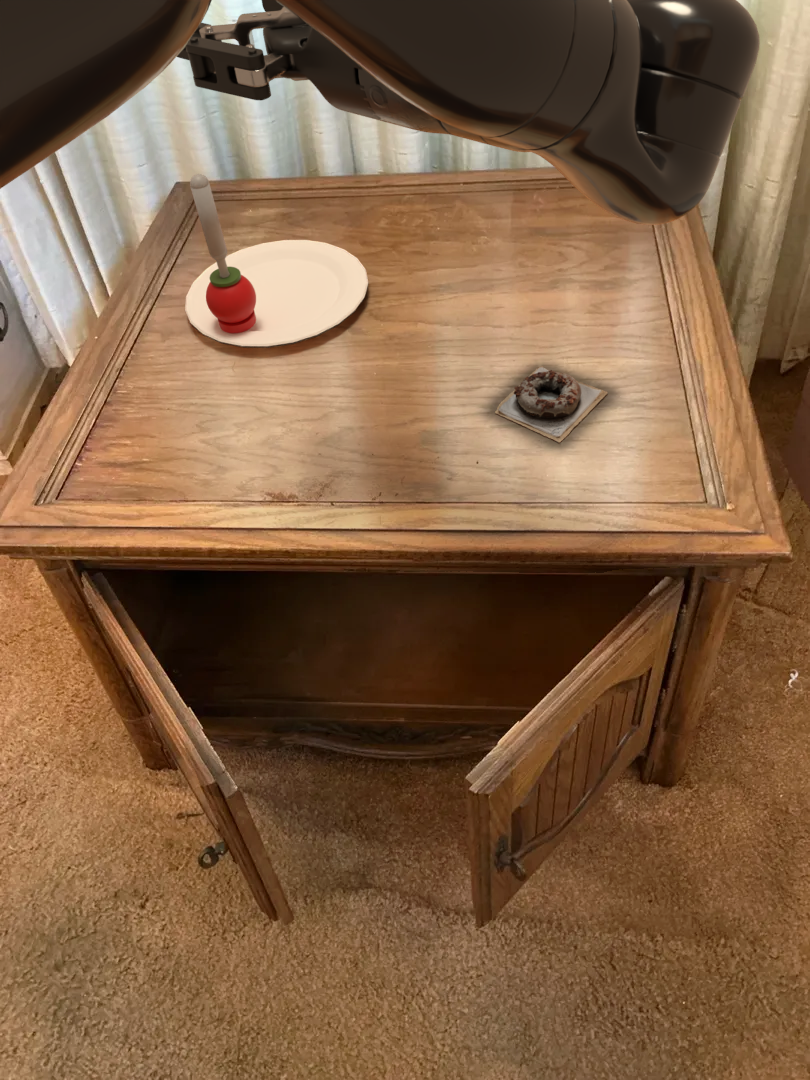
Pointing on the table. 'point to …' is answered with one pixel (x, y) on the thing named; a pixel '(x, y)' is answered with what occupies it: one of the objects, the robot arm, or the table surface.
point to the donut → (550, 403)
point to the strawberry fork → (222, 268)
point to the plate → (286, 292)
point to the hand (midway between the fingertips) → (219, 14)
